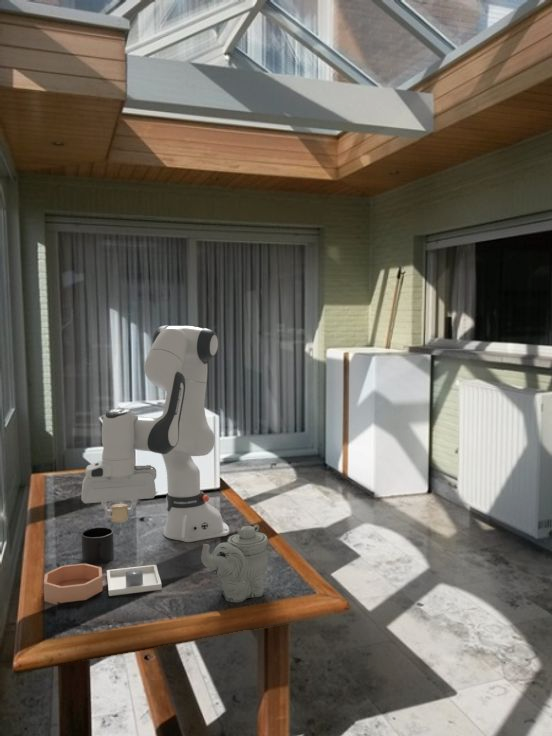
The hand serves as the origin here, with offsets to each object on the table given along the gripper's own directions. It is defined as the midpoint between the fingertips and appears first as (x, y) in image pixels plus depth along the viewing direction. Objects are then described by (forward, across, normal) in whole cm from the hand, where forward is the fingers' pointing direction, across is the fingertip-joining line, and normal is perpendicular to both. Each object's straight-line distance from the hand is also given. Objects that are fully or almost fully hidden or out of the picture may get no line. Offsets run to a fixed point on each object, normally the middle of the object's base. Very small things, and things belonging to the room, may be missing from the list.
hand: (119, 515), depth 182 cm
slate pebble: (+19, -3, +6) cm, 20 cm away
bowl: (+20, +12, +2) cm, 24 cm away
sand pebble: (+1, 0, 0) cm, 1 cm away
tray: (+20, -4, +3) cm, 20 cm away
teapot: (+20, -29, +17) cm, 39 cm away
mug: (+20, +5, -18) cm, 27 cm away
